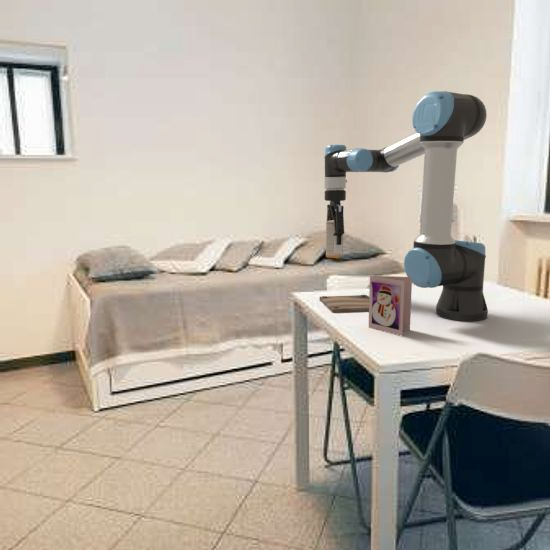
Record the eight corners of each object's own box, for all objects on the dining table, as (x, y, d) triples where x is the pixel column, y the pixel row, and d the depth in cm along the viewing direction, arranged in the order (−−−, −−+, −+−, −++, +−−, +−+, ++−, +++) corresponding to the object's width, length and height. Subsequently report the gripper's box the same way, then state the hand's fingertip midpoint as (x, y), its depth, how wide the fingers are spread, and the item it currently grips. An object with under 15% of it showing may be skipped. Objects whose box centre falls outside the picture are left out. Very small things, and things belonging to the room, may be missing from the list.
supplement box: (338, 258, 188) (339, 221, 186) (325, 257, 189) (325, 221, 187) (343, 255, 196) (343, 219, 193) (330, 254, 197) (330, 219, 195)
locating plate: (383, 310, 170) (383, 305, 169) (332, 312, 167) (332, 307, 167) (366, 298, 187) (366, 294, 187) (319, 300, 185) (319, 295, 185)
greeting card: (366, 328, 150) (368, 276, 147) (382, 323, 155) (384, 272, 152) (400, 336, 141) (402, 281, 139) (416, 331, 146) (418, 278, 144)
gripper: (354, 189, 178) (353, 255, 182) (337, 189, 200) (337, 248, 203) (332, 189, 177) (332, 256, 181) (318, 189, 199) (317, 248, 202)
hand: (334, 252), depth 192 cm, fingers closed on supplement box, 9 cm apart
